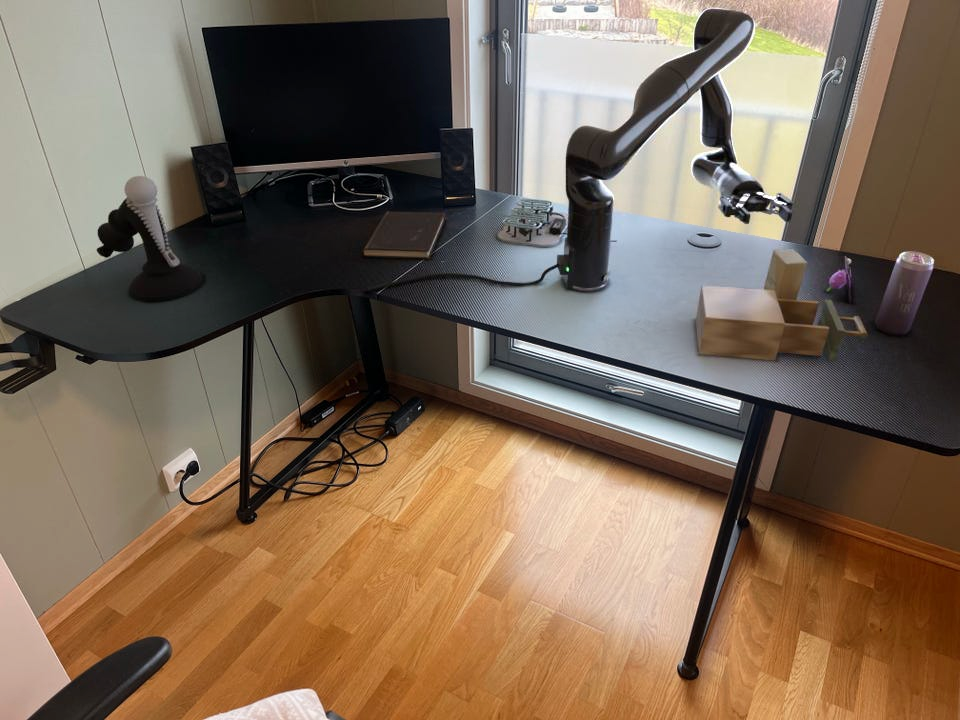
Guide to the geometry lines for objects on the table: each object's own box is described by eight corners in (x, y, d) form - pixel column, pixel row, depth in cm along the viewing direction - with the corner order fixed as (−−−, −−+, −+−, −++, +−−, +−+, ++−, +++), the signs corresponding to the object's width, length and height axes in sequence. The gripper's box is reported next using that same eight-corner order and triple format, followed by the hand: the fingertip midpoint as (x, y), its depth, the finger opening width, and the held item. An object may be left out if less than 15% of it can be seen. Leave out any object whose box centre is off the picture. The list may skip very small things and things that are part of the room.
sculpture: (172, 306, 148) (137, 193, 134) (85, 290, 155) (43, 181, 141) (216, 274, 160) (188, 167, 146) (133, 261, 167) (99, 158, 153)
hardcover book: (445, 221, 183) (444, 212, 182) (429, 259, 165) (428, 250, 163) (385, 219, 185) (385, 211, 184) (363, 257, 166) (362, 248, 165)
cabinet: (766, 325, 137) (774, 290, 132) (775, 360, 127) (785, 323, 122) (695, 320, 139) (701, 285, 135) (699, 354, 129) (706, 317, 125)
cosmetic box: (759, 303, 144) (771, 248, 137) (779, 301, 144) (793, 247, 138) (772, 318, 139) (786, 263, 132) (793, 317, 139) (808, 262, 132)
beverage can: (908, 324, 136) (934, 254, 128) (909, 339, 132) (936, 267, 123) (874, 318, 138) (898, 248, 130) (874, 332, 134) (899, 261, 125)
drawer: (849, 330, 133) (859, 301, 130) (864, 362, 124) (875, 333, 121) (755, 322, 136) (762, 294, 133) (763, 354, 127) (770, 324, 124)
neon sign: (614, 238, 162) (493, 225, 170) (612, 255, 164) (493, 241, 172) (627, 205, 178) (517, 194, 186) (626, 221, 181) (517, 209, 189)
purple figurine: (852, 273, 140) (850, 255, 147) (823, 277, 142) (823, 259, 149) (855, 302, 143) (853, 283, 150) (827, 306, 145) (826, 287, 152)
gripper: (710, 175, 154) (737, 203, 141) (773, 172, 154) (807, 199, 141) (705, 207, 158) (731, 237, 145) (767, 204, 159) (798, 233, 145)
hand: (768, 218), depth 143 cm, fingers open, 8 cm apart
